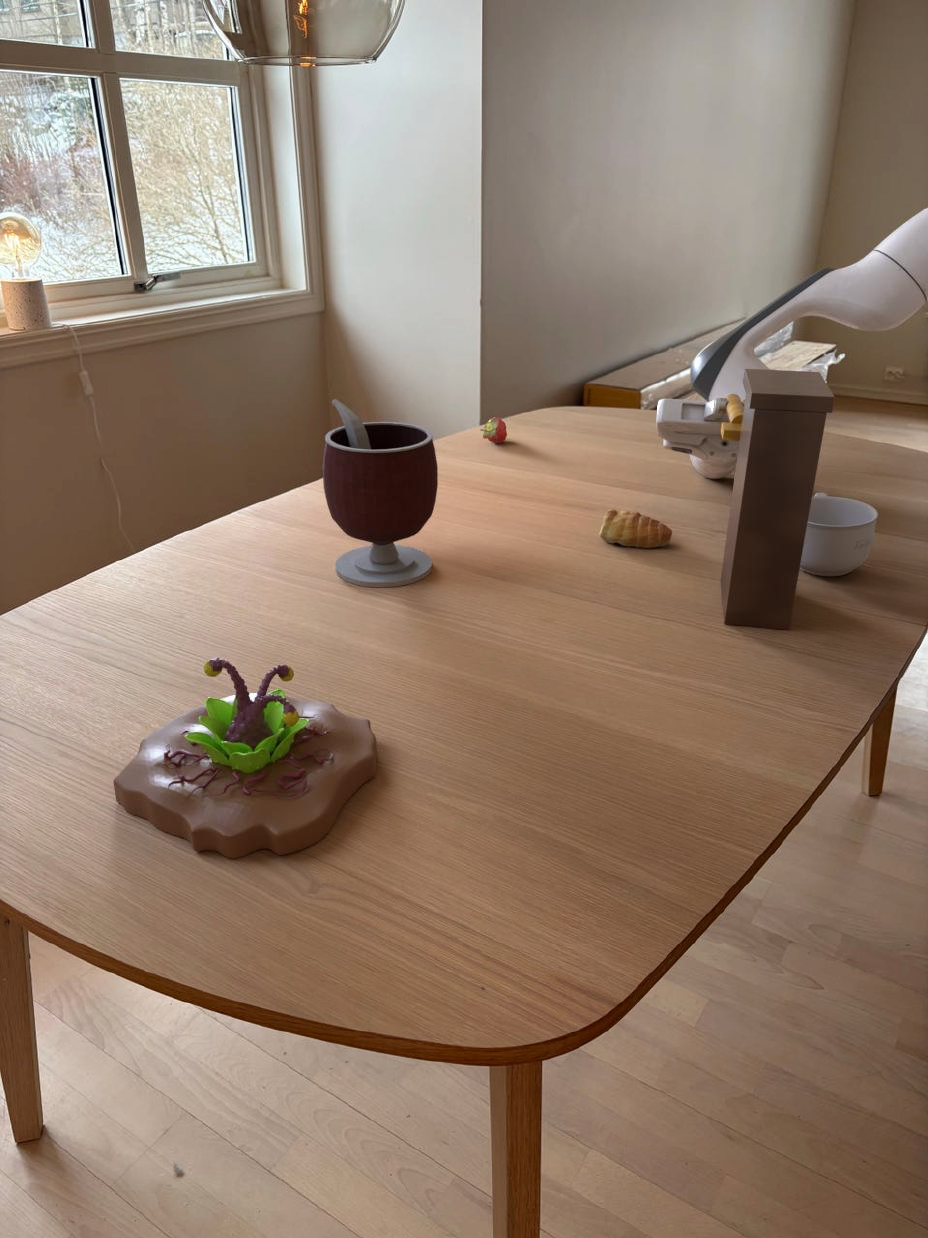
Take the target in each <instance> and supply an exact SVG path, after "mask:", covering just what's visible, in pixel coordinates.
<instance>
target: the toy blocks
mask: <svg viewBox="0 0 928 1238" xmlns="http://www.w3.org/2000/svg"><path fill="white" fill-rule="evenodd" d="M726 398H727V404H726V405H727V406H726V410H727V414H728V417H729V421H730V423H727V422H722V426H721V435H722V439H723V440H733V441H740V434H741V426H742V419H743V412H744V406H743V404H742V401H741V398H740V397H739V396H738V395H737V394H730V395H728V396H727V397H726Z"/></svg>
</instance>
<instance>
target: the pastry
mask: <svg viewBox="0 0 928 1238" xmlns="http://www.w3.org/2000/svg"><path fill="white" fill-rule="evenodd" d="M602 520H603V521H602V523H601V527H600V531H599V533H598V535H599V537H600V538H601V539H602V540H604V541H605V542H606V543H607V544H608V543H611V544H614V543H617V544H620V545H621V546H624V547H636V548H637V549H638V548H642V549H644V548H645V549H646V548H647V549H652V548H656V547H665V546H666V545H668V544H669V543H670V542H671V539H672V538H671V537H672V535H673V530H672V529H671V528H670V527H669V526H668V525H666V524H664V523H662V522H660V520H657V519H654V518H651V517H650V516H647V515H643V514H640V512H639V511H633V512H631V511H629V510H627V509H623V510H620V511H617V510H616V509H613V508H609V509H608V510H607V511H606V512H605V514H604V517H603V519H602Z"/></svg>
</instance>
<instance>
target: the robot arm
mask: <svg viewBox="0 0 928 1238" xmlns="http://www.w3.org/2000/svg"><path fill="white" fill-rule="evenodd" d="M927 303H928V207H926V208H923V209H922V210H921V211H919V212H918V213H917V214H915V215H913V216H912V217H911V218H909V219H908V220H907V221H905V222H903V224H901V225H900V226H899V227H897V228H896V229H894V230H893V231H892V232H891V233H890V234H889V235H888V236H886V237H885V238H884V239H883V240H882V241H881V242H880V243H878V245H876V247H874V248H873V249H872V250H871V251H870V252H869V253H868V254H867V255H866V256H864V257H863V258H861V259H860V260H858V261H857V262H854V263H852V264H850V265H848V266H845V267H842V268H841V267H840V268H834V267H829V266H827V267H825V268H822V269H819V270H818V271H816V272H814V273H812V274H811V275H809V276H807V277H806V278H804V279H803V280H801V281H799V282H798V283H797V284H796V285H794V286H792V287H790V288H789V289H788V290H786V291H785V292H784V293H782V294H781V295H780V296H779V297H777V298H775V299H774V300H773V301H771V302H770V303H768V304H767V305H766V306H764V307H763V308H761V309H760V310H758V311H757V312H756V313H754V314H753V315H752V316H750V317H749V318H748V319H746V320H744V321H743V322H742V323H741V324H739V325H738V326H736V327H735V328H733V329H731V330H730V331H729V332H727V333H726V334H724V335H722V336H721V337H719V338H717V339H716V340H714V341H712V342H710V343H709V344H707V345H706V346H704V347H703V348H702V349H701V350H700V351H699V352H698V354H696V356H695V358H693V360H692V361H691V363H690V368H689V369H690V370H689V373H690V374H689V378H690V384H691V389H692V390H693V391H694V392H695V393H696V394H698V395H699V396H700V397H701V398H703V400H695V399H680V398H660V399H659V400H657V401H658V402H657V409H656V419H655V429H656V432H657V435H658V437H659V438H660V439H662V440H663V441H662V443H663V448H664V449H665V450H667V451H672V452H678V453H683V454H688V455H689V458H690V463H691V464H692V466H693V468H694V469H695V471H696V472H697V473H698V474H700V475H701V476H703V477H705V478H707V479H714V480H717V479H719V480H720V479H723V478H726V477H728V476H730V475H731V474H733V473H735V471H736V463H737V456H738V449H739V441H733V440H723V439H722V435H721V426H722V422H727V423H730V421H729V417H728V414H727V410H726V406H727V405H726V404H727V398H726V397H727V396H728V395H730V394H737V395H738V396H739V397H740V398H741V401H742V404H743V406H744V404H745V397H746V392H745V389H744V385H743V378H744V370H745V369H763V370H771V369H770V368H769V366H767V365H766V364H765V363H764V362H763V361H762V360H761V359H760V358H759V357H758V356H757V355H756V352H755V349H756V348H757V347H759V346H760V345H762V344H763V343H765V342H766V341H768V340H769V339H770V338H772V337H773V336H775V335H776V334H777V333H779V332H780V331H782V330H783V329H785V328H786V327H787V326H788V325H791V324H792V323H793V322H794V321H796V320H798V319H800V318H804V317H820V318H824V319H828V320H831V321H833V322H836V323H838V324H841V325H843V326H846V327H849V328H852V329H854V330H857V331H858V330H859V331H863V332H871V333H872V332H873V333H877V332H885V331H889V330H894V329H895V328H897V327H898V326H900V325H901V324H903V323H904V322H905V321H907V320H909V318H911V317H912V316H913V315H914V314H915V313H917V312H918V311H919V310H920V309H921V308H922V307H923V306H924V305H925V304H927Z"/></svg>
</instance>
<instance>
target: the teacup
mask: <svg viewBox="0 0 928 1238" xmlns="http://www.w3.org/2000/svg"><path fill="white" fill-rule="evenodd" d="M878 518H879V512H878V510H877V509H876V508H874V506H873V505H870V504H868V503H866V502H863V501H860V500H859V499H858V500H857V499H853V498H849V497H848V498H847V497H841V496H832V495H831V496H829V494H828V493H826V492H816V493H815V494H814V495H813V496H812V501H811V506H810V512H809V518H808V523H807V529H806V535H805V541H804V546H803V552H802V558H801V563H800V569H799V570H801V571H803V572H805V573H807V574H810V575H814V576H819V577H820V576H821V577H840V576H843V575H847V574H849V573H851V572H852V571H854V570H856V569H857V568H859V567H861V566H862V565H863V564H864V563H865V562H866V561H867V560H868V558H869V556H870V553H871V550H872V546H873V542H874V536H875V532H876V525H877V524H876V523H877V520H878Z"/></svg>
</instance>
